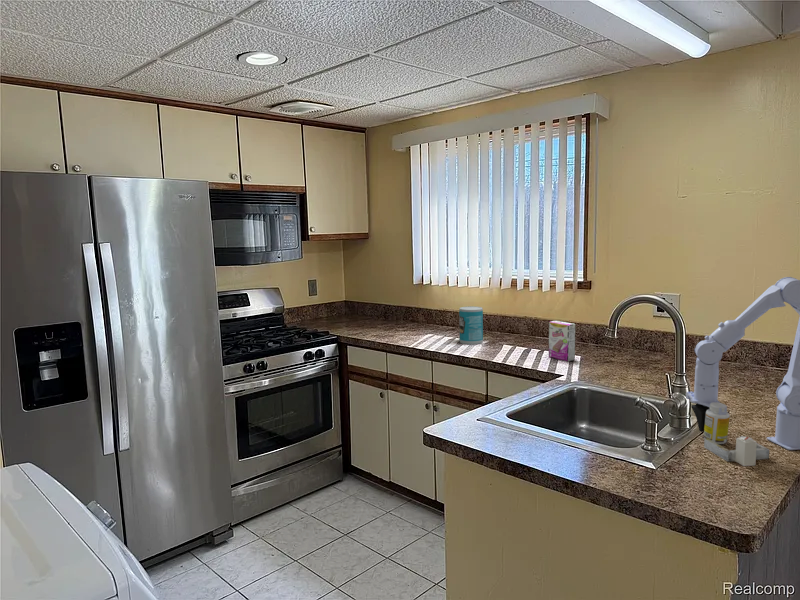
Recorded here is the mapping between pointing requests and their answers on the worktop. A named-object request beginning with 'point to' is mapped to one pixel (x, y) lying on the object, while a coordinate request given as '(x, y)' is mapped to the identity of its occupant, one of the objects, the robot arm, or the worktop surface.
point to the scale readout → (745, 451)
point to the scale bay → (733, 451)
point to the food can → (471, 325)
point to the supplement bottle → (716, 423)
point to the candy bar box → (562, 340)
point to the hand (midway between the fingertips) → (703, 431)
